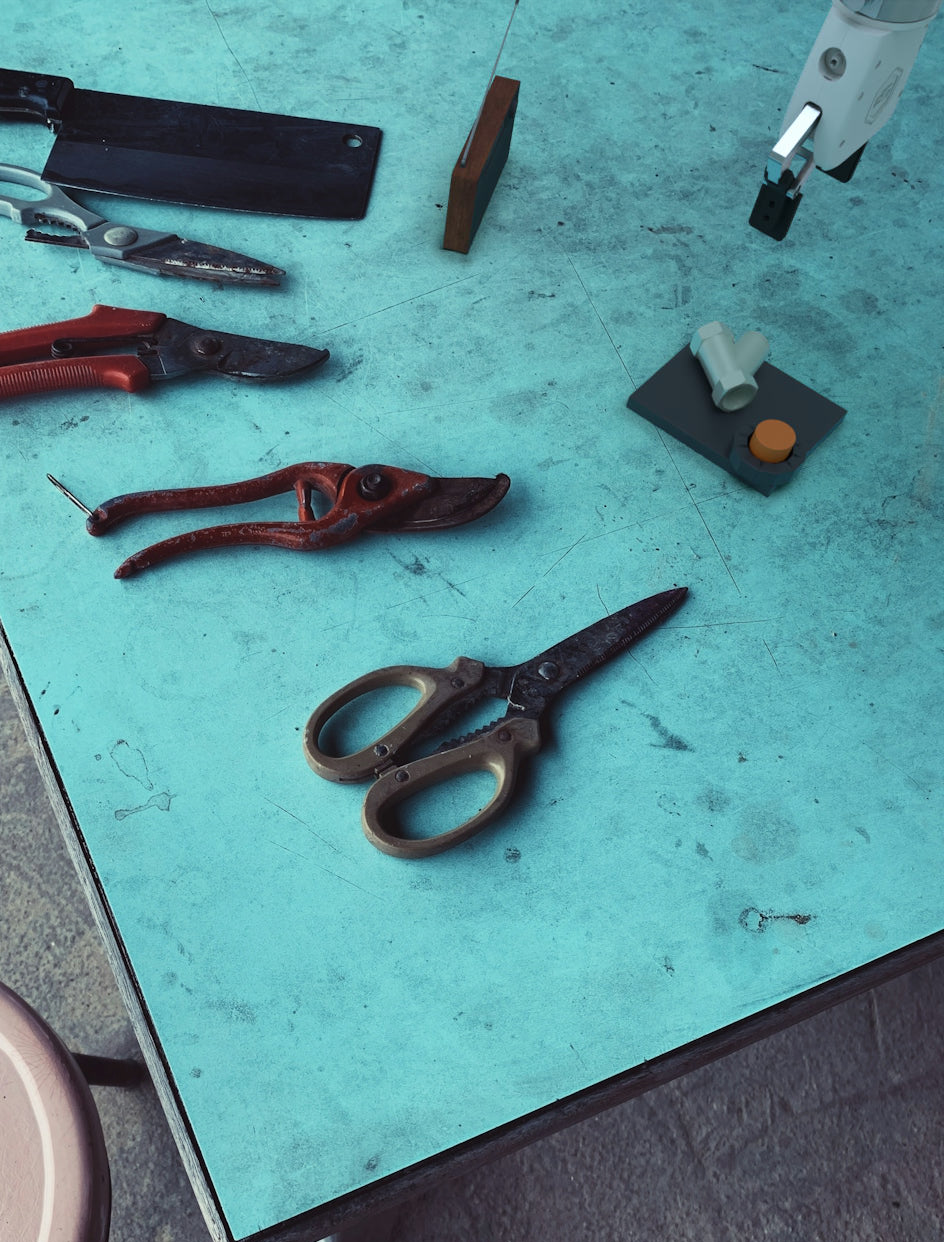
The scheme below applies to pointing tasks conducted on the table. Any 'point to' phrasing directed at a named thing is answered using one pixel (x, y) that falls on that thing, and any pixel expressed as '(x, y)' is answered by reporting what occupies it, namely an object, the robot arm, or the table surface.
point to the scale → (736, 418)
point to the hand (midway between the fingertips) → (799, 202)
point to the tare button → (772, 441)
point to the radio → (481, 160)
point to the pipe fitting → (730, 363)
